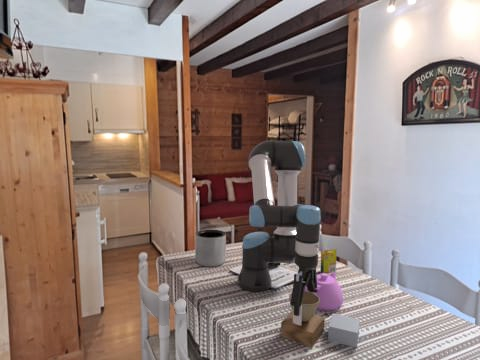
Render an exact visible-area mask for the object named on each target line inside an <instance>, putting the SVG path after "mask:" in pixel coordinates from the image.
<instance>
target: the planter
mask: <svg viewBox="0 0 480 360" xmlns="http://www.w3.org/2000/svg"><path fill="white" fill-rule="evenodd" d="M226 247H227V233H226V232H225V231H223V230H219V229H201V230H199V231H196V233H195V248H194V249H195V253H194V254H195V256H194V260H195V263H196V264H198V265H199V266H201V267H202V266H203V267H206V268H207V267H208V268H209V267H210V268H213V267H219V266H221V265H223V264H225V263H226V260H227V256H226V254H227V253H226V252H227V248H226Z"/></svg>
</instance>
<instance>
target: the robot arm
mask: <svg viewBox="0 0 480 360" xmlns="http://www.w3.org/2000/svg"><path fill="white" fill-rule="evenodd" d="M306 158H307V157H306V151H305V147H304V146H303V143H302V142H300V141H295V140H294V141H293V140H264V141H262V142H259V143H258V144H256V146H254V148H253V149H252V150H251V152H250V153H249V156H248V168H249V169H250V170H251V178H252V179H251V180H252V183H251V184H252V192H253V193H252V194H253V205H251V206H250V207H249V213H248V215H249V216H248V217H249V225H250V226H251V227H255V228H276V229H275V230H274V231H273V235H272V236H271V235H270V234H269V233H268V232H266V231H255V232H250V233H248V234H246V235H244V236H243V238H242V245H241V247H242V256H241V257H242V258H241V260H242V261H241V269H240V271H239V275H238V278H237V286H238V287H239V288H240V289H241V290H243V291H247V292H252V293H253V292H256V293H258V292H264V291H268V290H269V289H270V288H272V278H271V277H272V276H271V274H270V270H269V264H295V265H297V267H298V270H297V274H296V273H294V274H293V285H292V290H291V293H292V297H291V303H290V302H289V303H290V306H291V305H292V306H293V323H294V324H297V325H300V326H301V323H302V305H301V303H302V299H303V295H304V290H305V287H306V286H307V290H308V291H307V292H311V293H314V292H315V293H317V275H318V274H317V267H318V265H319V249H320V248H321V245H319V243H320V232H321V231H320V228H321V220H322V216H321V209H320V207H319V206H315V205H312V204H311V205H310V204H300V203H298V175H300V173H301V172H302V169H303V168H305V166H306ZM271 168H274V172H275V173H276V174H277V205H276V203H275V196H274V195H275V194H274V189H273V182H272V176H271V175H272V174H271ZM315 288H316V289H315Z"/></svg>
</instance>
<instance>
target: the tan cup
mask: <svg viewBox="0 0 480 360" xmlns="http://www.w3.org/2000/svg"><path fill="white" fill-rule="evenodd" d="M291 297H292V292H290V294H289V303H291ZM319 301H320V299H319V297H318V296H317V295H316V294H314V293H311V292H307V291H304V295H303V299H302V303H301V305H302V321H309V320H310V319H311V318H312V317H313V316H314V315H316V312H317V310H318V309H317V308H318V305H319ZM290 308H291V310H292V311H293V306H292V305H290ZM292 311H291V312H292Z"/></svg>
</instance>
